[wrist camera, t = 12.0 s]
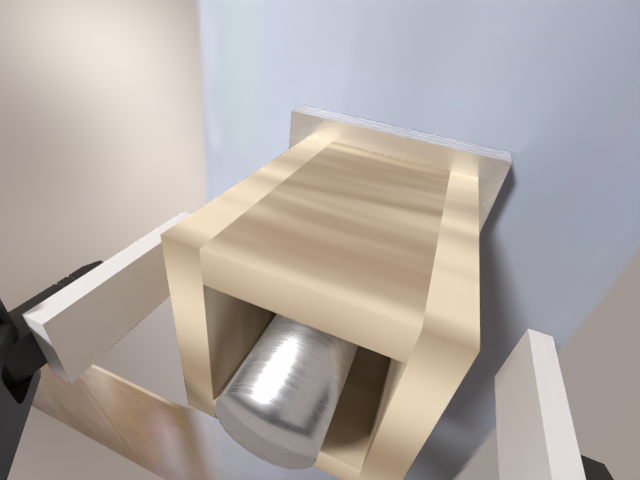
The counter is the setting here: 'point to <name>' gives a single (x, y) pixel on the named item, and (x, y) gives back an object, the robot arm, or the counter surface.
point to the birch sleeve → (338, 289)
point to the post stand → (315, 345)
